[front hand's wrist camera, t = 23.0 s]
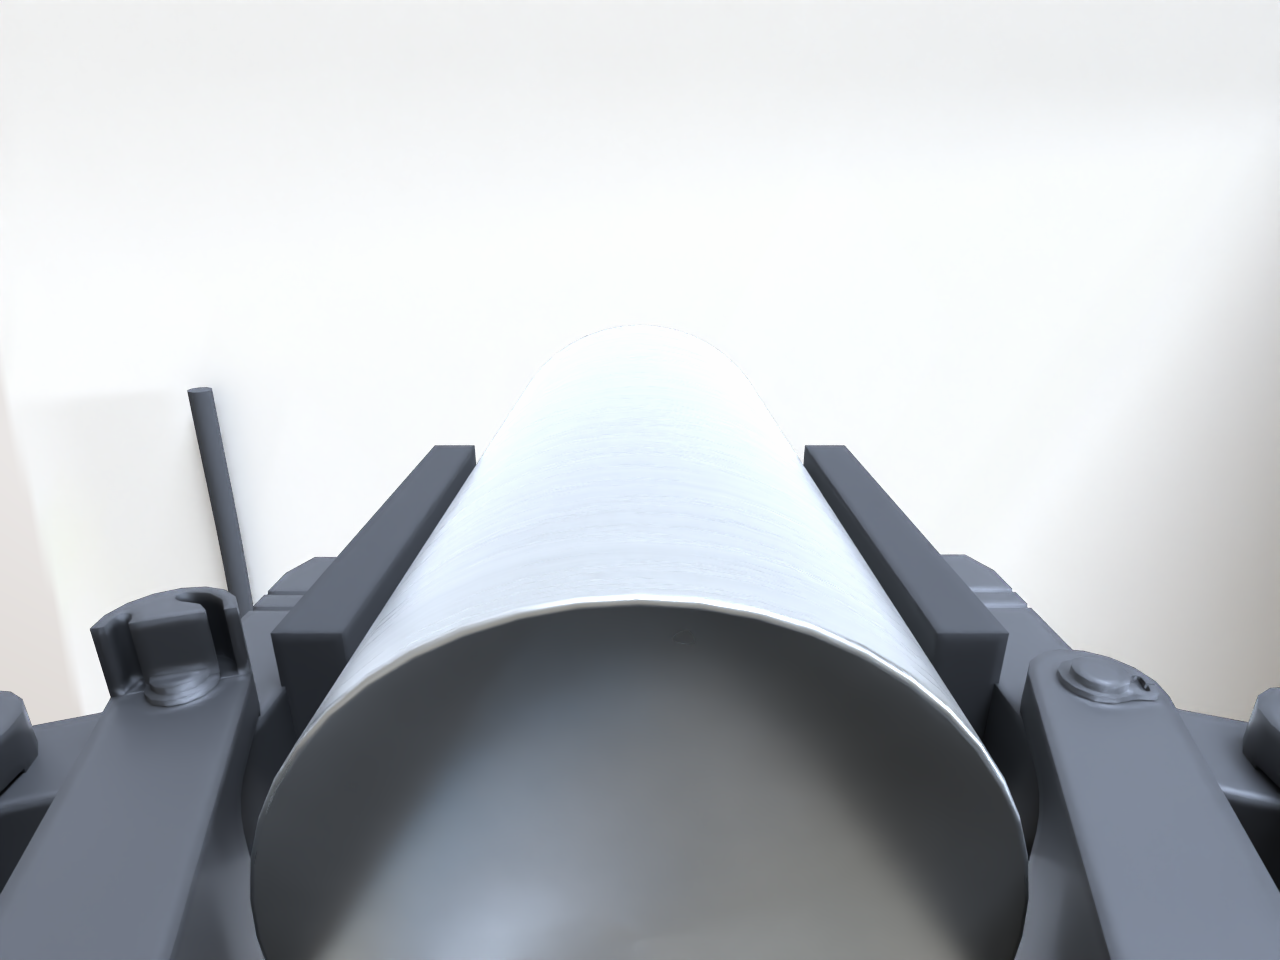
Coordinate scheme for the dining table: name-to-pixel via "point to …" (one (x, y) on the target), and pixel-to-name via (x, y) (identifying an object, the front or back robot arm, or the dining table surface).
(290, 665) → the front robot arm
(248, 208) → the dining table surface
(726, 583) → the canister
